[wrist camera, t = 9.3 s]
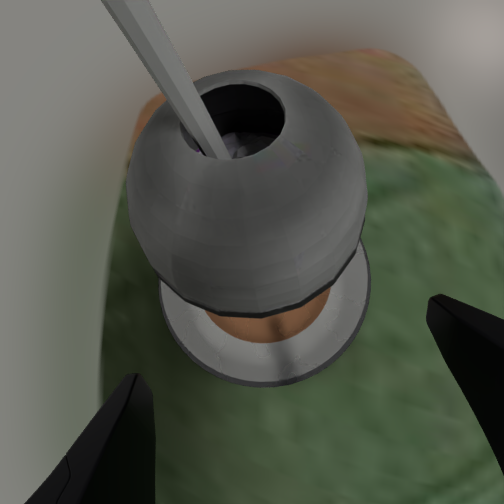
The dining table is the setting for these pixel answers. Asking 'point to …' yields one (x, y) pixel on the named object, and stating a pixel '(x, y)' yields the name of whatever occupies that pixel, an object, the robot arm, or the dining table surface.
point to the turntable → (273, 330)
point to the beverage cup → (240, 182)
